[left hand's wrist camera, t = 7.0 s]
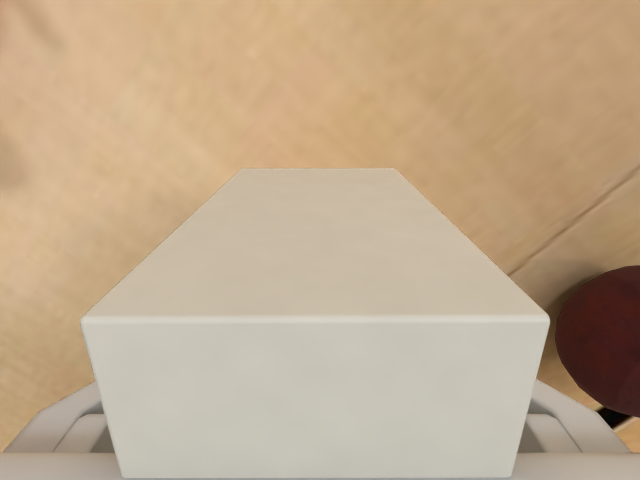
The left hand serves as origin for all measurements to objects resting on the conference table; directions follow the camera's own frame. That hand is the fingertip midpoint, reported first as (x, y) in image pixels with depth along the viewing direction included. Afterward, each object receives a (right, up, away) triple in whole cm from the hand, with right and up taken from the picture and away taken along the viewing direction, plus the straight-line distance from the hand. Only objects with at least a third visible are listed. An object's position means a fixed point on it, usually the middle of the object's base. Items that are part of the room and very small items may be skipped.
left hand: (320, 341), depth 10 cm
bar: (0, -8, +7) cm, 10 cm away
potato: (+17, -1, +13) cm, 21 cm away
